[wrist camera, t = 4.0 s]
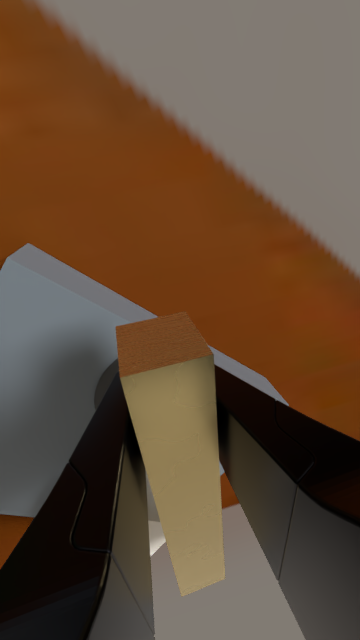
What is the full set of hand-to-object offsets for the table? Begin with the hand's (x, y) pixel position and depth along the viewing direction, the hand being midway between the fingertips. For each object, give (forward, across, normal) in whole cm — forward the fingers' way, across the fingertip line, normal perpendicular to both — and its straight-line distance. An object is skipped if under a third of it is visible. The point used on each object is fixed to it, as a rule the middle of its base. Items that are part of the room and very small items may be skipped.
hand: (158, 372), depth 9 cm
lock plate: (+5, +2, +6) cm, 8 cm away
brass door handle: (+2, 0, +3) cm, 4 cm away
